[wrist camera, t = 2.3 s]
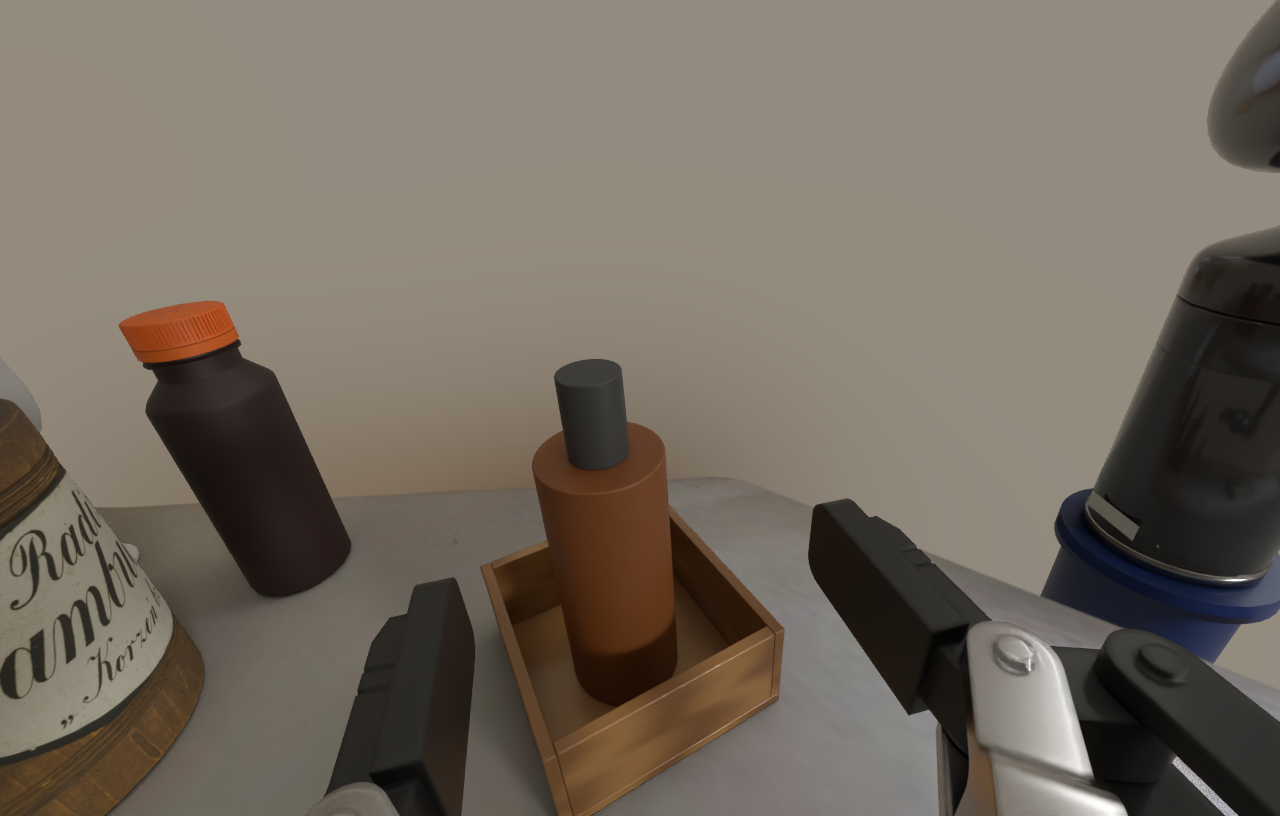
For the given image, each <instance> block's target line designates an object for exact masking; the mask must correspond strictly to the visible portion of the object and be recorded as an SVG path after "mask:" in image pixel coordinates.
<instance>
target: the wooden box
mask: <svg viewBox="0 0 1280 816" xmlns="http://www.w3.org/2000/svg"><path fill="white" fill-rule="evenodd" d="M669 520H670V536H671V553H672V569H673V585H674V602H675V618H676V634H677V651H678V658H677V665H676V668H675V671H674V674H673V675H672V677H671V678H670V679H669V680H667V681H665V682H663V683H661V684H659V685H658V686H656V687H654V688H652V689H650V690H648V691H647V692H645V693H643V694H641V695H639V696H637V697H635V698H634V699H632V700H630V701H628V702H626V703H624V704H623V705H621V706H618V705H611V704H607V703H604V702H601V701H599V700H597V699H595V698H594V697H592V696H591V695H590V694H588V693H587V692H586V691H585V690H584V688H583V687H582V686H581V684H580V683H579V681H578V679H577V676H576V673H575V669H574V664H573V659H572V654H571V650H570V645H569V640H568V635H567V631H566V626H565V621H564V616H563V612H562V607H561V602H560V597H559V593H558V588H557V583H556V579H555V574H554V569H553V564H552V560H551V555H550V550H549V545H548V541H544V542H542V543H539V544H537V545H534V546H532V547H529V548H526V549H524V550H521V551H519V552H516V553H513V554H511V555H508V556H506V557H503V558H500V559H498V560H495V561H493V562H491V563H488V564H485V565H482V566H481V571H482V574H483V577H484V581H485V584H486V587H487V591H488V594H489V597H490V601H491V604H492V607H493V611H494V614H495V617H496V620H497V624H498V627H499V630H500V634H501V637H502V640H503V643H504V646H505V650H506V653H507V656H508V659H509V662H510V665H511V669H512V672H513V675H514V678H515V681H516V685H517V688H518V691H519V694H520V697H521V701H522V704H523V707H524V710H525V713H526V716H527V720H528V723H529V726H530V729H531V732H532V736H533V739H534V742H535V745H536V748H537V752H538V755H539V758H540V761H541V764H542V767H543V771H544V774H545V777H546V780H547V783H548V787H549V790H550V793H551V796H552V799H553V803H554V806H555V809H556V812H557V815H558V816H591V815H592V814H594V813H596V812H597V811H599V810H600V809H602V808H604V807H605V806H607V805H608V804H610V803H612V802H613V801H615V800H617V799H618V798H620V797H621V796H623V795H625V794H626V793H628V792H630V791H631V790H633V789H634V788H636V787H638V786H639V785H641V784H642V783H644V782H646V781H647V780H649V779H651V778H652V777H654V776H655V775H657V774H659V773H660V772H662V771H664V770H665V769H667V768H668V767H670V766H672V765H673V764H675V763H676V762H678V761H680V760H681V759H683V758H685V757H686V756H688V755H689V754H691V753H693V752H694V751H696V750H698V749H699V748H701V747H702V746H704V745H706V744H707V743H709V742H710V741H712V740H714V739H715V738H717V737H719V736H720V735H722V734H723V733H725V732H727V731H728V730H730V729H732V728H733V727H735V726H736V725H738V724H740V723H741V722H743V721H745V720H746V719H748V718H749V717H751V716H753V715H754V714H756V713H757V712H759V711H761V710H762V709H764V708H766V707H767V706H769V705H770V704H772V703H774V702H775V701H777V700H778V698H779V687H780V675H781V664H782V652H783V640H784V628H783V627H782V626H781V625H780V624H779V623H778V622H777V620H776V619H775V618H774V617H773V616H772V615H771V614H770V613H769V612H768V611H767V610H766V609H765V608H764V606H763V605H762V604H761V603H760V602H759V601H758V600H757V599H756V598H755V597H754V596H753V595H752V593H751V592H750V591H749V590H748V589H747V588H746V587H745V586H744V585H743V584H742V583H741V582H740V581H739V579H738V578H737V577H736V576H735V575H734V574H733V573H732V572H731V571H730V570H729V569H728V568H727V566H726V565H725V564H724V563H723V562H722V561H721V560H720V559H719V558H718V557H717V556H716V555H715V554H714V552H713V551H712V550H711V549H710V548H709V547H708V546H707V545H706V544H705V543H704V542H703V541H702V539H701V538H700V537H699V536H698V535H697V534H696V533H695V532H694V531H693V530H692V529H691V528H690V527H689V525H688V524H687V523H686V522H685V521H684V520H683V519H682V518H681V517H680V516H679V515H678V514H677V513H676V511H675V510H674V509H673V508H672V507H671V506H670V505H669Z"/></svg>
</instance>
